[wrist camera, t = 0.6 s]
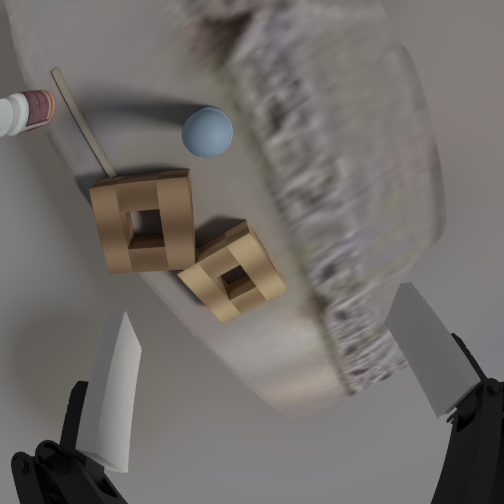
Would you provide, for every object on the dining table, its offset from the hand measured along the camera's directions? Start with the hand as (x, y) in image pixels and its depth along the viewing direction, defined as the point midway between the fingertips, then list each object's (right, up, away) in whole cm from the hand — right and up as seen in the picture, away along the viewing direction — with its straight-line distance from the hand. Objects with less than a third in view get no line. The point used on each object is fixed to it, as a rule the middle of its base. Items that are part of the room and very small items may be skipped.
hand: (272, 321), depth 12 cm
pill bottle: (-26, +20, +10) cm, 35 cm away
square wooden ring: (-13, +7, +19) cm, 25 cm away
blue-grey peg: (-5, +17, +15) cm, 23 cm away
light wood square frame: (-3, +1, +25) cm, 25 cm away
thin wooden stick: (-20, +18, +12) cm, 30 cm away
